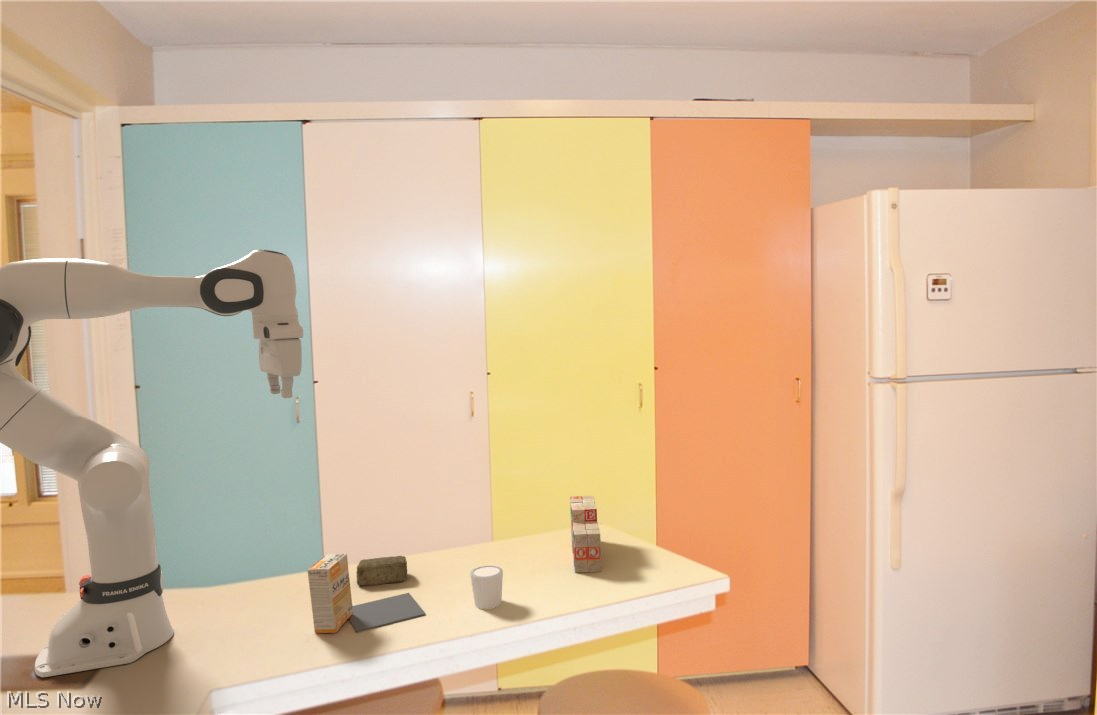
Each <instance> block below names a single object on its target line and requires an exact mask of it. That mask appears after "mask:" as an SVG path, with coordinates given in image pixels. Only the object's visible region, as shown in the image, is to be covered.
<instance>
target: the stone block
mask: <svg viewBox="0 0 1097 715" xmlns="http://www.w3.org/2000/svg"><path fill="white" fill-rule="evenodd" d="M407 576H408V563H407V557H406V556H403V555H396V556H385V557H383V556H382V557H375V558H368V559H360V561H359V562H358V564H357V565H356V584H357V586H363V587H364V586H365V587H366V586H375V585H376V586H377V585H384V584H394V583H400V582H404V581H406V580H407Z"/></svg>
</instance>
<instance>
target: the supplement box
mask: <svg viewBox="0 0 1097 715" xmlns="http://www.w3.org/2000/svg"><path fill="white" fill-rule="evenodd" d="M348 560H349V559H348V554H347V553H326V554H325V555H324V556H323V557H322V558H321V559H319V560H318V561H317V562H315V563H314V564H313V565H312V566H311V567H309V568H307V577H308V585H309V586H308V587H309V594H310V603H311V610H312V620H313V628H314V633H315V634H316V633H318V634H335V633H337V632H338V631H339V629H340V628H342V626H343V625H344V623H346V622H347V621H348V619H349V617H350V616H351V615H352V614H353V607H352V606H353V599H352V591H351V582H350V572H349V562H348Z"/></svg>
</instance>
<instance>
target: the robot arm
mask: <svg viewBox="0 0 1097 715" xmlns="http://www.w3.org/2000/svg"><path fill="white" fill-rule="evenodd" d="M294 269H295V268H294V265H293V262H292V260H291V258H290V257H289V256H287V255H286V254H285V253H283V252H279V251H277V250H269V249H253V250H251V251H250V252H249V253H248V254H246V255H245V256H243V257H241V258H239V259H238V260H236V261H233V262H231V263H228V264H226V265H222V266H219V267H216V268H213V269H211V270H210V271H209V272H207V273H205V274H202V275H197V276H178V275H177V276H174V275H173V276H170V275H164V276H163V275H150V274H144V273H139V272H136V271H133V270H129V269H127V268H124V267H122V266H119V265H117V264H116V265H115V264H112V263H109V262H103V261H97V260H91V259H85V258H84V259H83V258H82V259H81V258H62V257H61V258H55V257H54V258H37V259H35V258H34V259H26V260H19V261H17V260H16V261H12V262H11V261H10V262H8V263H5V264H4V265H2V266H1V267H0V443H1V445H4V446H6V447H7V448H9V449H10V450H12V451H13V452H15V453H17V454H19V455H20V456H22V457H23V458H24V459H25V458H26V460H28V461H31V463H33V464H36V465H39V466H43V467H44V468H45V467H46V468H48V469H50V470H53V471H55V472H57V473H60V474H62V475H65V476H66V477H69V478H71V479H73V480H75V481H76V482H77V487H78V495H79V501H80V503H79V504H80V508H81V513H82V518H83V525H84V529H85V533H86V539H87V545H88V546H87V547H88V557H89V565H90V566H89V568H90V574H84V575H82V577H81V578H80V580H79V582H78V585H79V596H80V597H79V598H80V600H79V601H78V602H77V603H76V604H75V605H73V606H72V607H71V608H70V609H69V610H68V611H67V612H66V613H65V614H63V615H62V616H61V617H60V618H59V619H58V620H57V621H56V622H55V624H54V625H53V627H52V628H51V631H50V635H49V636H48V637H49V638H48V644H47V645H46V646H45V647H44V648H43V649H42V650H41V651H40V652H39V653H38V655H37V657H36V658H35V662H34V673H35V675H36V676H38V677H40V678H48V677H53V676H60V675H67V674H72V673H78V672H83V671H89V670H96V669H102V668H108V667H114V666H119V665H120V666H121V665H125V664H130V663H133V662H135V661H137V660H138V659H140V658H141V657H143V655H145V654H146V653H148V652H151V651H153V650H155V649H157V648H159V647H160V646H163V644H165V643H167V642H168V641H169V640H170V639H171V638H172V636H174V632H175V631H174V628H173V626H172V624H171V621H170V619H169V616H168V614H167V613H168V612H167V610H166V607H165V603H164V598H163V591H164V582H163V580H164V579H163V572H162V569H161V564H159V563H158V562H159V561H158V553H157V542H156V541H157V540H156V532H155V531H156V530H155V522H154V516H153V509H152V499H151V498H152V497H151V491H150V490H151V489H150V460H149V457H148V456H147V453H146V452H145V451H144V450H143V449H142V448H141V447H140V446H139V445H137V444H136V443H134V442H132V441H130V440H128V439H127V438H125V437H123V436H121V435H120V434H118V433H117V432H115V431H113V430H111V429H109V428H107V426H103V425H102V424H100V423H98V422H96V421H94V420H92V419H91V418H88V417H86V416H84V415H83V414H81V413H80V412H78V411H77V410H75V409H74V408H72V407H70V406H69V405H67V404H66V403H64V402H62V401H61V400H59V399H58V398H56V397H55V396H53V395H52V394H50V393H49V392H47V391H46V390H44V389H42V388H41V387H40V386H37V385H36V384H35V383H33V382H31V381H30V380H29V379H27V378H26V377H24V375H22V374H21V373H20V372H19V371H18V369H17V366H19V364H20V363H21V360H22V358H23V356H24V354H25V353H26V350H27V349H28V347H29V344H30V342H31V338H32V327H31V325H33V324H34V323H36V322H40V321H44V320H45V321H46V320H81V319H82V320H84V319H85V320H86V319H95V318H96V319H98V318H105V317H110V316H115V315H119V314H120V315H121V314H124V313H126V312H131V311H135V310H140V309H144V308H145V309H146V308H155V307H156V308H157V307H158V308H159V307H160V308H163V307H164V308H196V309H200V310H201V309H202V310H205V311H207V312H209V313H211V314H214V315H217V316H221V317H233V316H235V315H238V314H240V313H242V312H245V311H249V312H250V313H251V316H252V317H251V318H252V330H253V334H252V335H253V339H255V340H258V358H259V359H258V360H259V362H258V364H259V370H260V372H264V373H266V376H267V377H266V378H267V382H268V385H269V392H270V394H271V395H278V394H280V393H281V394H280V395H281V397H282V398H283V399H291V398H293V386H294V377H298V376H300V375H301V372H302V364H303V363H302V361H303V360H302V357H303V356H302V350H303V349H302V341H301V339H302V338H303V337H304V329H303V327H302V325H301V324H300V321H299V312H298V309H297V305H296V297H297V284H296V276H295V275H296V274H295V271H294ZM279 378H280V380H279ZM280 382H281V384H280Z"/></svg>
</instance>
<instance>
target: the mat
mask: <svg viewBox="0 0 1097 715" xmlns="http://www.w3.org/2000/svg"><path fill="white" fill-rule="evenodd" d="M352 607H353V614H352V615H351V616H350V617H349V618H348V619H349V621H350V624H352V625H351V626H353V629H354V631H355V632H356V633H359V632H360V633H361V632H364V631H368V630H372V629H376V628H380V627H384V626H387V625H391V624H395V623H398V622H399V623H400V622H404V621H407V620H411V619H414V618H419V617H423V616H426V612H425V611H424V610H423V608H422V607H421V605H420V604H419V603H418V602H417V601H416V599H414V597H413V596H412V595H411V593H410V592H406V593H402V594H397V595H392V596H390V597H386V598H381V599H380V598H379V599H377V600H373V601H368V602H364V603H359V604H355V605H352Z"/></svg>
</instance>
